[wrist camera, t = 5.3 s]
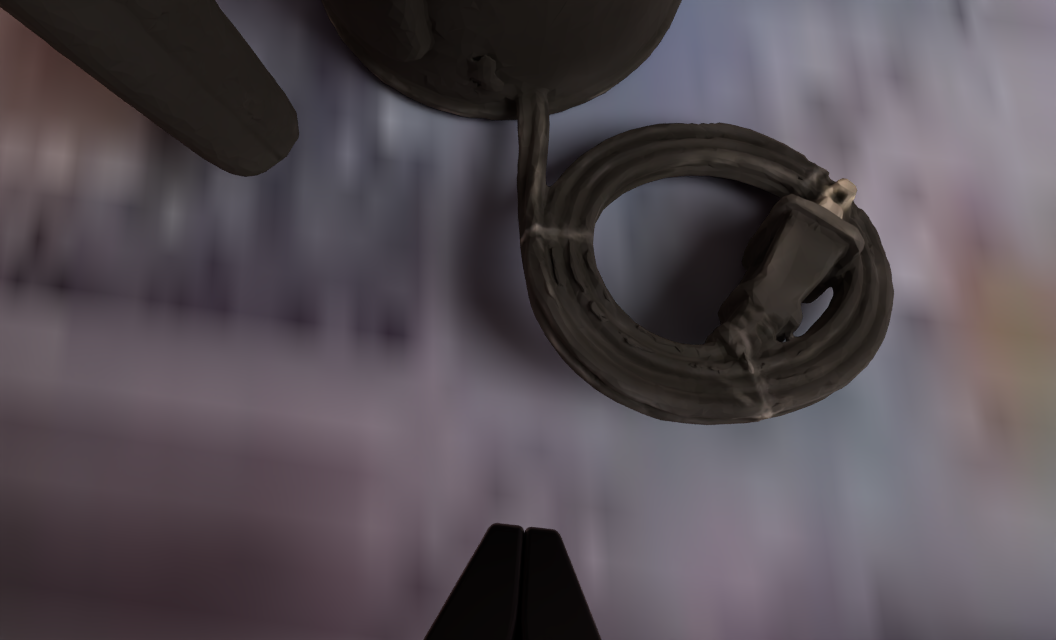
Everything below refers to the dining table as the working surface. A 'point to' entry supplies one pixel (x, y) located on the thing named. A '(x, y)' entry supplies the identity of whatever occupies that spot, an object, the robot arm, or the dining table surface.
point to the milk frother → (539, 176)
